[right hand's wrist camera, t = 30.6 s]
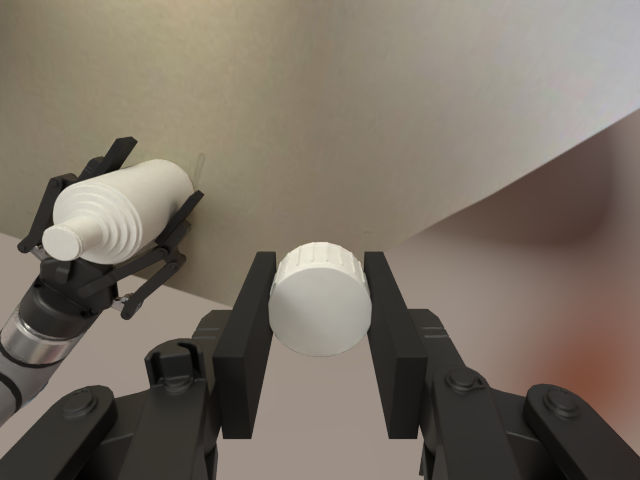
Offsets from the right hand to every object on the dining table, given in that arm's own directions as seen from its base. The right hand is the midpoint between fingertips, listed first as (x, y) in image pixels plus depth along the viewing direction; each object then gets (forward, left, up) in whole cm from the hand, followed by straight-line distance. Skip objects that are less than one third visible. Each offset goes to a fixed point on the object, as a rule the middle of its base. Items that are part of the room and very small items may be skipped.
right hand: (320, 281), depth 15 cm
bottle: (-10, -16, -28) cm, 34 cm away
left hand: (-11, -12, -22) cm, 27 cm away
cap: (0, 0, +2) cm, 2 cm away
